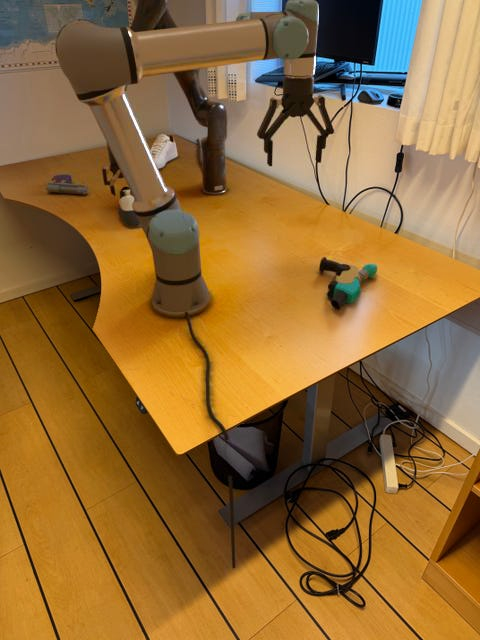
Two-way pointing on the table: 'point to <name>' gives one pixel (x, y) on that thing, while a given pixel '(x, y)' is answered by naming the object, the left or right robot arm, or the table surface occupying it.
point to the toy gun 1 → (65, 185)
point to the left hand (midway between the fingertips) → (294, 163)
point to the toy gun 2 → (345, 281)
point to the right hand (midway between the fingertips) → (125, 193)
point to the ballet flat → (127, 208)
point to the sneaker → (164, 150)
